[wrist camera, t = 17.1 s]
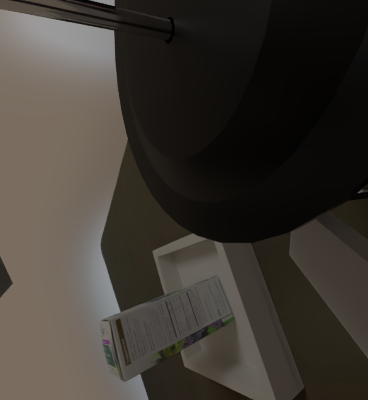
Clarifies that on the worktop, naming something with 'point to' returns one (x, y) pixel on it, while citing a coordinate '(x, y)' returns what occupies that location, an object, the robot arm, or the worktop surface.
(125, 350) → the syrup box
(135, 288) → the worktop surface
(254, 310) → the bin
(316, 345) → the worktop surface
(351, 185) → the french press
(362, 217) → the worktop surface
